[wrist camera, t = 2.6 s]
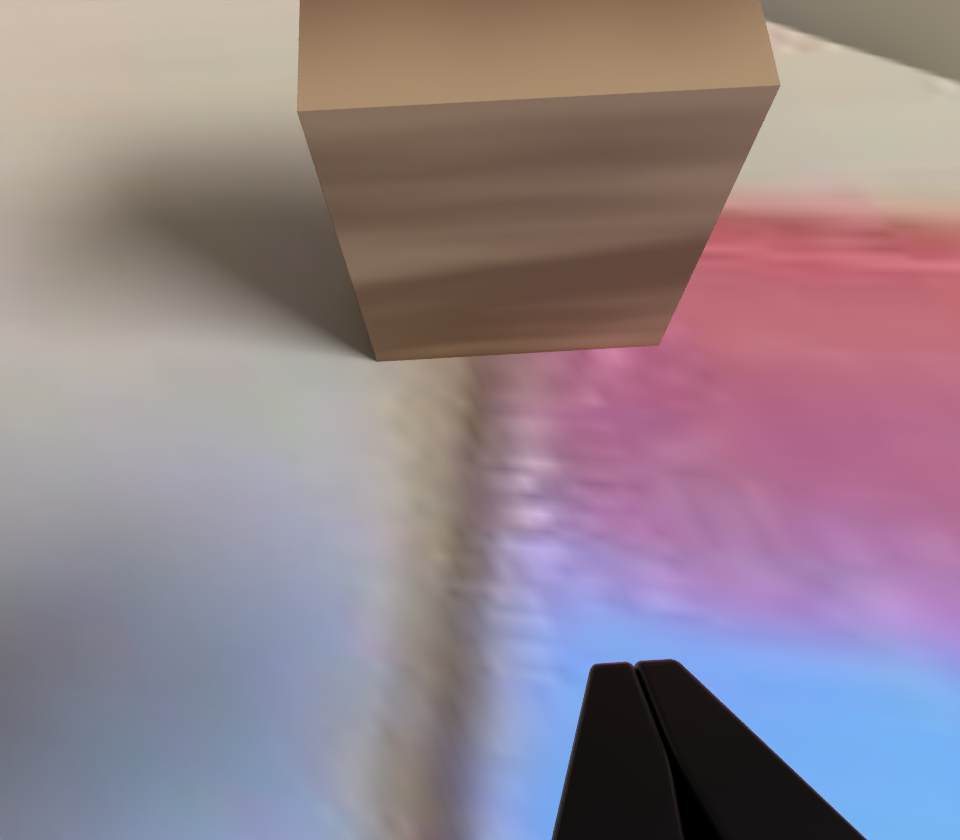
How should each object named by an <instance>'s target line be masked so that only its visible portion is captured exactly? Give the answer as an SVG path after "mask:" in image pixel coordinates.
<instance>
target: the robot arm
mask: <svg viewBox="0 0 960 840" xmlns="http://www.w3.org/2000/svg"><path fill="white" fill-rule="evenodd" d="M552 840H867V839H866V838H864V837H863V836H862V835H861V834H860V833H859V832H858V831H857V830H856V829H855V828H854V827H853V826H852V825H851V824H850V823H849V822H848V821H847V820H845V819H844V818H843V817H842V816H841V815H840V814H839V813H838V812H837V811H836V810H835V809H834V808H833V807H832V806H831V805H830V804H829V803H828V802H826V801H825V800H824V799H823V798H822V797H821V796H820V795H819V794H818V793H817V792H816V791H815V790H814V789H813V788H812V787H811V786H810V785H808V784H807V783H806V782H805V781H804V780H803V779H802V778H801V777H800V776H799V775H798V774H797V773H796V772H795V771H794V770H793V769H792V768H791V767H789V766H788V765H787V764H786V763H785V762H784V761H783V760H782V759H781V758H780V757H779V756H778V755H777V754H776V753H775V752H774V751H773V750H772V749H770V748H769V747H768V746H767V745H766V744H765V743H764V742H763V741H762V740H761V739H760V738H759V737H758V736H757V735H756V734H755V733H754V732H752V731H751V730H750V729H749V728H748V727H747V726H746V725H745V724H744V723H743V722H742V721H741V720H740V719H739V718H738V717H737V716H736V715H735V714H733V713H732V712H731V711H730V710H729V709H728V708H727V707H726V706H725V705H724V704H723V703H722V702H721V701H720V700H719V699H718V698H717V697H716V696H714V695H713V694H712V693H711V692H710V691H709V690H708V689H707V688H706V687H705V686H704V685H703V684H702V683H701V682H700V681H699V680H698V679H697V678H695V677H694V676H693V675H692V674H691V673H690V672H689V671H688V670H687V669H686V668H685V667H684V666H683V665H682V664H680V663H679V662H677V661H675V660H672V659H664V660H648V661H639V662H638V663H636V664H635V665H634V667H633V665H632V664H630V663H628V662H616V663H600V664H594V665H593V666H592V667H591V669H590V672H589V676H588V681H587V685H586V689H585V694H584V698H583V703H582V707H581V712H580V716H579V720H578V725H577V729H576V734H575V738H574V743H573V747H572V751H571V756H570V760H569V765H568V769H567V774H566V778H565V782H564V787H563V791H562V796H561V800H560V804H559V809H558V813H557V818H556V822H555V827H554V831H553V835H552Z"/></svg>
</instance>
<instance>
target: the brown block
mask: <svg viewBox="0 0 960 840" xmlns="http://www.w3.org/2000/svg"><path fill="white" fill-rule="evenodd" d="M779 87H780V81H779V77H778V73H777V69H776V65H775V60H774V56H773V52H772V48H771V44H770V39H769V35H768V31H767V27H766V23H765V18H764V14H763V10H762V6H761V2H760V0H300V18H299V58H298V97H297V112H298V116H299V119H300V122H301V125H302V128H303V131H304V134H305V138H306V141H307V144H308V147H309V150H310V153H311V156H312V159H313V163H314V166H315V169H316V172H317V175H318V178H319V181H320V184H321V188H322V191H323V194H324V197H325V200H326V203H327V206H328V210H329V213H330V216H331V219H332V222H333V225H334V228H335V231H336V235H337V238H338V241H339V244H340V247H341V250H342V253H343V257H344V260H345V263H346V266H347V269H348V272H349V275H350V278H351V282H352V285H353V288H354V291H355V294H356V297H357V300H358V304H359V307H360V310H361V313H362V316H363V319H364V322H365V325H366V329H367V332H368V335H369V338H370V341H371V344H372V347H373V350H374V354H375V357H376V360H377V362H380V361H397V360H415V359H432V358H449V357H467V356H484V355H501V354H519V353H536V352H553V351H571V350H588V349H605V348H623V347H640V346H657V345H659V344H660V341H661V339H662V337H663V335H664V333H665V331H666V329H667V327H668V324H669V322H670V320H671V318H672V316H673V314H674V312H675V309H676V307H677V305H678V303H679V301H680V299H681V297H682V294H683V292H684V290H685V288H686V286H687V284H688V282H689V279H690V277H691V275H692V273H693V271H694V269H695V267H696V264H697V262H698V260H699V258H700V256H701V254H702V252H703V250H704V247H705V245H706V243H707V241H708V239H709V237H710V235H711V232H712V230H713V228H714V226H715V224H716V222H717V220H718V217H719V215H720V213H721V211H722V209H723V207H724V205H725V202H726V200H727V198H728V196H729V194H730V192H731V190H732V188H733V185H734V183H735V181H736V179H737V177H738V175H739V173H740V170H741V168H742V166H743V164H744V162H745V160H746V158H747V155H748V153H749V151H750V149H751V147H752V145H753V143H754V140H755V138H756V136H757V134H758V132H759V130H760V128H761V126H762V123H763V121H764V119H765V117H766V115H767V113H768V111H769V108H770V106H771V104H772V102H773V100H774V98H775V96H776V93H777V91H778V89H779Z"/></svg>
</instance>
